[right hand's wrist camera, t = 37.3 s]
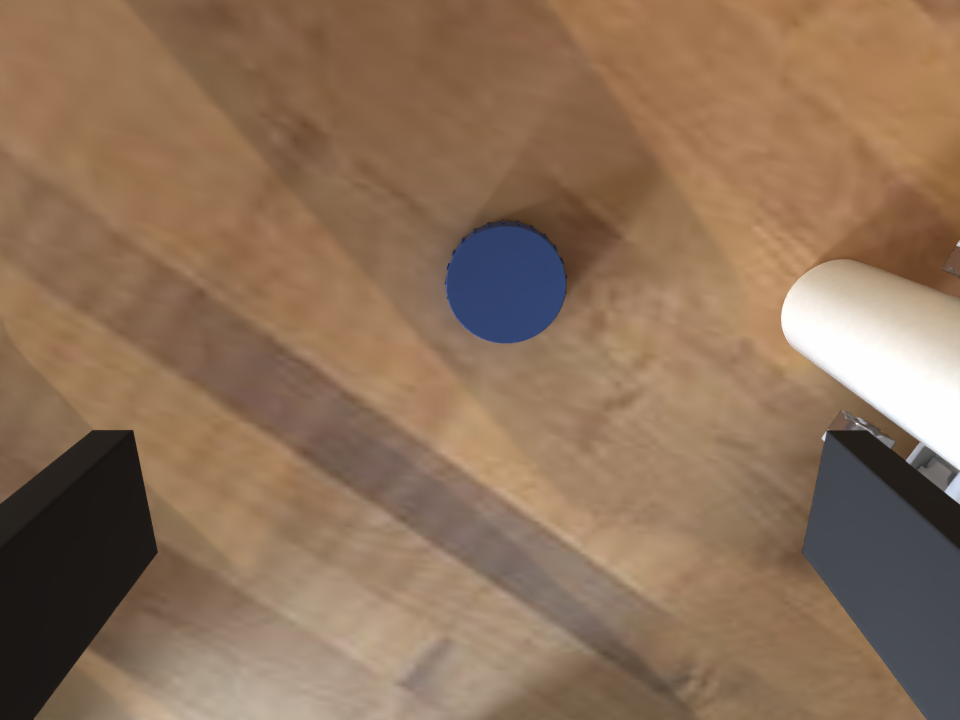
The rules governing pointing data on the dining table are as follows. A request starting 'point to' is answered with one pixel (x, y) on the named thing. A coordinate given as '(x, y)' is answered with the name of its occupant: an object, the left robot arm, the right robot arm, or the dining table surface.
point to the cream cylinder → (883, 345)
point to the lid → (506, 282)
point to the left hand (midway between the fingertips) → (896, 346)
